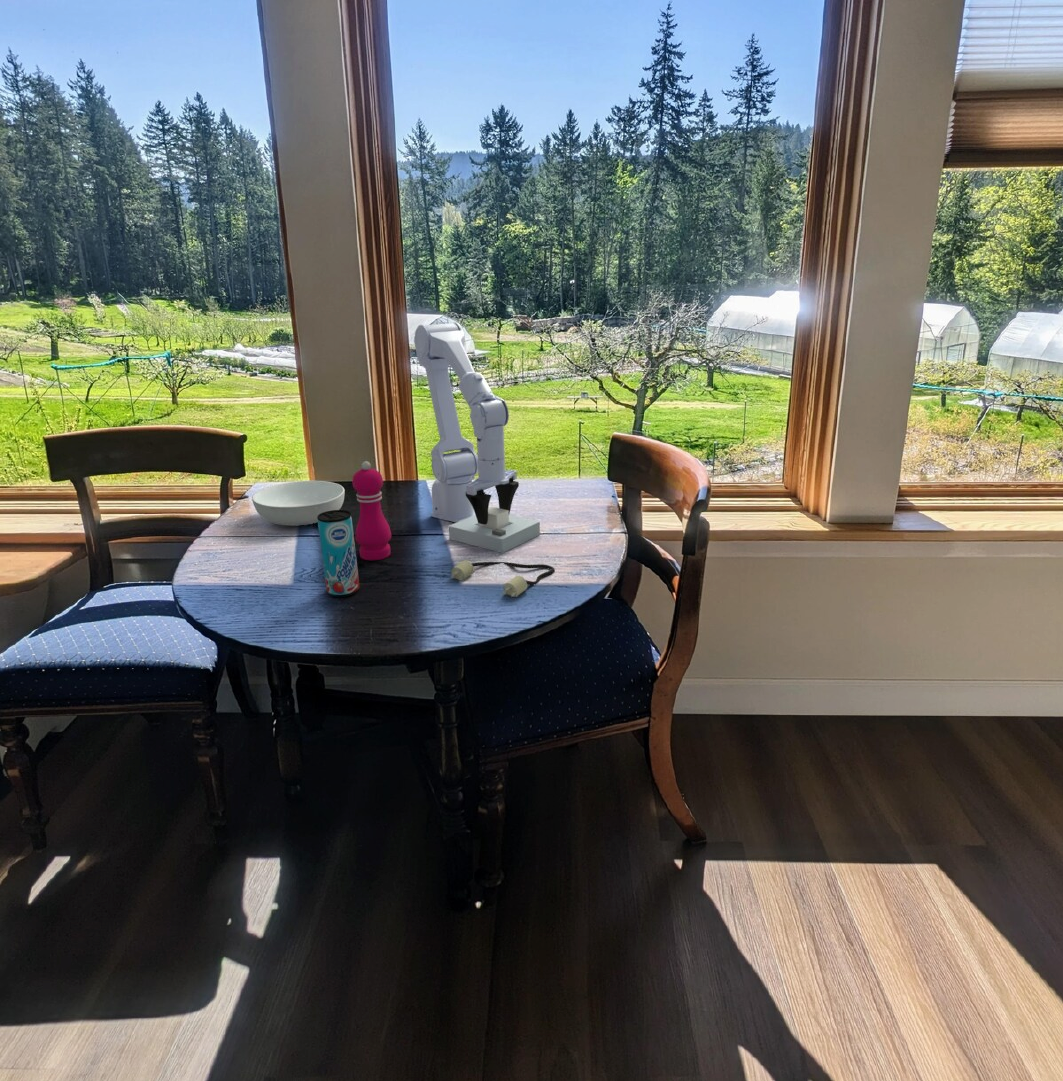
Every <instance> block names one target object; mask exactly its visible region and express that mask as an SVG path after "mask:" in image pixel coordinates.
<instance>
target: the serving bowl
mask: <svg viewBox="0 0 1063 1081" xmlns="http://www.w3.org/2000/svg"><path fill="white" fill-rule="evenodd" d="M345 493H346V492H345V488H344V487H343V486H342V485H341V484H339V483H335V482H332V481H325V480H299V481H291V482H284V483H283V482H282V483H278V484H274V485H271V486H268V487H265V488H262V489H260V490H258V491H256V492H255V493H254V494H253V495H252V498H251V501H252V503H253V506H254V509H255V511H256V512H257V513H258V515H259V516H260V517H261V518H262V519H264V520H265V521H267V522H269V523H272V524H275V525H279V526H288V527H289V526H290V527H300V526H299V525H304V526H308V524H310V525H313V523H314V524H316V523H317V524H318V519H317V516H318V515H319V514H321V513H323V512H326V511H332V510H341V508H342V506H343V504H344V500H345Z"/></svg>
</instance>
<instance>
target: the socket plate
mask: <svg viewBox="0 0 1063 1081" xmlns="http://www.w3.org/2000/svg"><path fill="white" fill-rule="evenodd" d="M540 525H541V524H540V521H539V520H535V519H529V518H524V517H520V516H515V515H511V514H509V525H508V526H506V527H504V528H502V529H491V528H486V527H482V526H480V523H478V521H477V518H476V515H474V516H471V517H469V518H467V519H464V520H462V521H459V522H457V523H456V522H453V524H449V525H448V539H449V540H453V541H456V542H460V543H464V544H467V545H471V546H475V547H479V548H483V549H486V550H490V551H491V550H492V551H495V552H498V553H502V554H504V553H506V552H509V550H512V549H513V548H515V547H517V546H521V544H524V543H526V542H527V541H530V540H532V539H534V538H536V537H538V536H540V535H541V529H540V528H541V526H540Z"/></svg>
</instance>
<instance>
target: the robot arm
mask: <svg viewBox="0 0 1063 1081" xmlns="http://www.w3.org/2000/svg"><path fill="white" fill-rule="evenodd" d="M413 342H414V347H415V351H416V352H415V353H416V357H417V360H418V364H419V365H420V366H421V367H423V368H424V369H425V374H426V379H427V383H428V388H429V392H430V398H431V402H432V408H433V412H434V417H435V421H436V426H437V431H438V436H439V441H438V442H437V443H436V444H435V446H433V448H432V450H431V451H430V454H431V456H430V457H431V471H432V474H433V477H434V478H435V480H434V482H433V483H432V486H431V500H432V501H431V502H432V503H431V504H432V513H430V517H432V518H435V519H440V520H445V521H447V522H452V523H457V522H459V521H462V520H464V519H467V518H469V517H471V516H474V515H476V518H477V521H478V523H480V524H484V525H486V524H487V522H488V507H490V506H489V505H490V501H491V498H492V494H488V493H486V492H485V491H486V490H488V489H491V488H494V487H495V491H496V494H497V498H498V508H500V509H504V510H509V514H510V512H511V507H512V504H513V501H514V498H515V497H514V496H515V495H516V492H517V490H518V489H519V484H520V483H519V481H516V480H517V479H518V475H517V472H518V471H517V470H515V469H507V470H506V457H505V456H506V455H505V451H506V450H505V430H504V429H505V426H506V425H507V424H508V422H509V419H510V418H509V417H510V416H509V415H510V412H509V407H508V406H507V404H506V401H505V400H504V399H503V398H502V397H499V396H498V395H495V394H494V393H493V390H491V387H490V386H489V384H488V382H487V380H486V379H485V376H484V375H483V374H482V373H481V372H476V371H475V369H474V366H473V365H472V362H471V360H470V358H469V356H468V353H467V352H466V349H465V345H466V344H465V343H466V338H465V333H464V330H463V328H462V326H461V325H460V323H458V322H456V321H455V322H451V323H442V324H441V323H439V324H426V325H425V324H418V326H417V328H416V330H415V332H414V338H413ZM449 367H451V369H452V370H453V372H454V373H455V375H456V376H457V378H458V379H459V380H460V381H459V383H458V389H459V391H460V393H461V394H462V396H463V398H464V400H465V403H466V404H467V405H468V408H469V409H470V414H469V417H470V418H469V419H470V423H471V424H472V427H473V428H472V429H473V434H474V438H476V450H477V451H475V448H474V444H473V443H472V442H471V441H469V440H468V439H467V438H465V437H463V436H462V431H461V428H460V422H459V417H458V412H457V408H456V403H455V398H454V393H453V388H452V383H451V379H450V378H451V377H450V375H449ZM453 451H454V452H453ZM476 452H477V453H476ZM477 474H478V477H477V478H475V476H477Z"/></svg>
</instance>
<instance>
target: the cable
mask: <svg viewBox="0 0 1063 1081" xmlns="http://www.w3.org/2000/svg"><path fill="white" fill-rule="evenodd" d="M500 563H504V564H503V565H506V564H507V565H506V566H508V565H509V567H513V568H519V569H547V568H549V569H548V570H547V571H546V572H543V573H541V574H539V575H538V576H537V578H536V580H535V581H532V580H526V579H525V578H524V577H523V576H521V575H516V576H514V577H513V578H511V579H510V580H509V581H507V582H506V583H505V584H504V585H503V591H502V593H503V595H504V596H506V595H509V596H511V598H512V597H514V598H517V597H519V595H521V594H522V593H523V592H525V591H526V590H527V588H528V586H535V585H537V584H538V583H540V581H541V580H542V579H543V578H545V577H547V576H550V575H552V574H554V573H555V571H556V568H554V566H552V565H548V564H543V563H540V564H539V563H538V564H535V563H534V564H522V563H515V562H508V561H507V562H506V561H505V562H504V561H480V562H478V561H477V562H472V563H471V561H469V560H465V559H464V560H461V561H460V562H459V563H457V564H456V565H455V566H454V567H452V568H451V570H450V571H451V576H450V577H451V579H452V580H454V579H455V580H459V581H465V580H466V579H468V578H469V576H471V575H473V573H474V570H475V568H474V567H482V566H484V567H485V566H494V565H500ZM550 569H551V570H550ZM553 572H554V573H553ZM534 584H535V585H534Z"/></svg>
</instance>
